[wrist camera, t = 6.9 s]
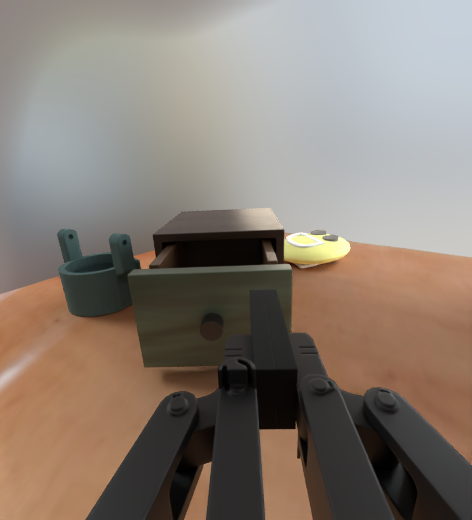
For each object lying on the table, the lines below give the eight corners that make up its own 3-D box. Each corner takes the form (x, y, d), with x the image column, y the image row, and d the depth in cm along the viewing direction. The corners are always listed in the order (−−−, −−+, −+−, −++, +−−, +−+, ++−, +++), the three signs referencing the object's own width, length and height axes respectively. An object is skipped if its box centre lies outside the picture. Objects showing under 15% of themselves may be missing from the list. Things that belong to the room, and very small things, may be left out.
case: (283, 318, 29) (284, 229, 26) (165, 322, 30) (152, 234, 27) (271, 271, 42) (270, 207, 39) (188, 274, 43) (181, 211, 40)
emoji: (293, 253, 39) (367, 238, 41) (263, 235, 50) (323, 223, 52) (294, 279, 40) (366, 262, 43) (265, 256, 51) (323, 243, 54)
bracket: (140, 310, 33) (128, 235, 30) (53, 322, 31) (31, 243, 28) (145, 281, 41) (136, 221, 38) (77, 290, 39) (62, 227, 36)
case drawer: (293, 375, 20) (295, 276, 18) (138, 379, 21) (119, 282, 18) (273, 293, 33) (273, 228, 31) (178, 296, 34) (170, 233, 31)
